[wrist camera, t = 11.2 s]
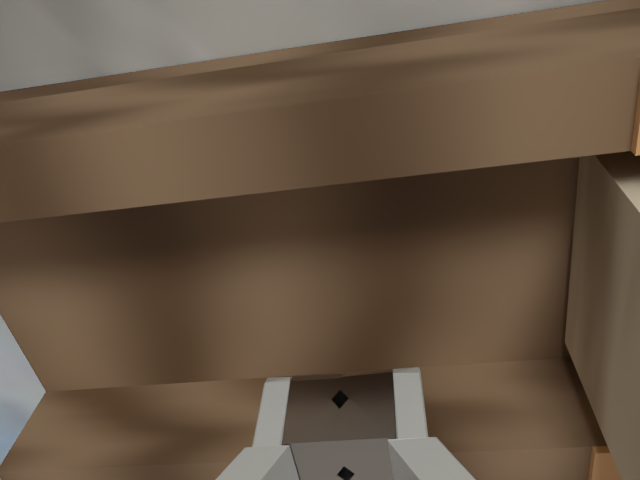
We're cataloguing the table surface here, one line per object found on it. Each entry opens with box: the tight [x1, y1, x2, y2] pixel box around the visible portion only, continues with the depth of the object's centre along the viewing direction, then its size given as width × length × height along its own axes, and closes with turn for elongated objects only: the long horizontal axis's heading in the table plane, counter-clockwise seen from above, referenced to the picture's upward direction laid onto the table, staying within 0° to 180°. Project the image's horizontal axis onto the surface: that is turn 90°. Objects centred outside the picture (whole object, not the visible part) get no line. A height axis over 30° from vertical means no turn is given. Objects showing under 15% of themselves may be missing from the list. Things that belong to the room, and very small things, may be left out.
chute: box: [0, 0, 640, 480], centre depth 14 cm, size 22×11×4 cm, turn 99°
